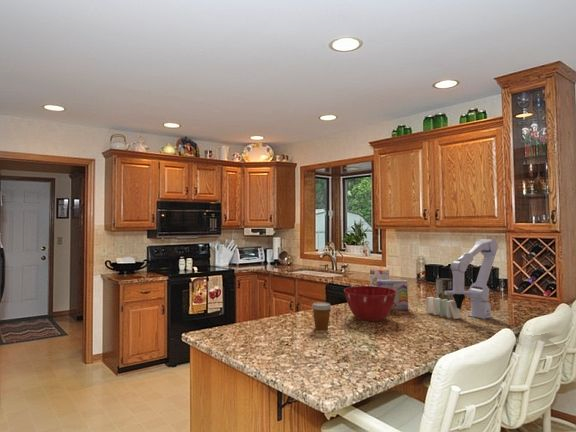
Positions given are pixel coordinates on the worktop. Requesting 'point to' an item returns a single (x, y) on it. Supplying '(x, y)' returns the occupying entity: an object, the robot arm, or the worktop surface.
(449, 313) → the domino
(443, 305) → the domino
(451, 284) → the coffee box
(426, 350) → the worktop surface
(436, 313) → the domino
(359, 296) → the mixing bowl
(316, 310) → the disposable coffee cup
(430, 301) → the domino
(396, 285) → the cake pan box
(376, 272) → the cracker box
